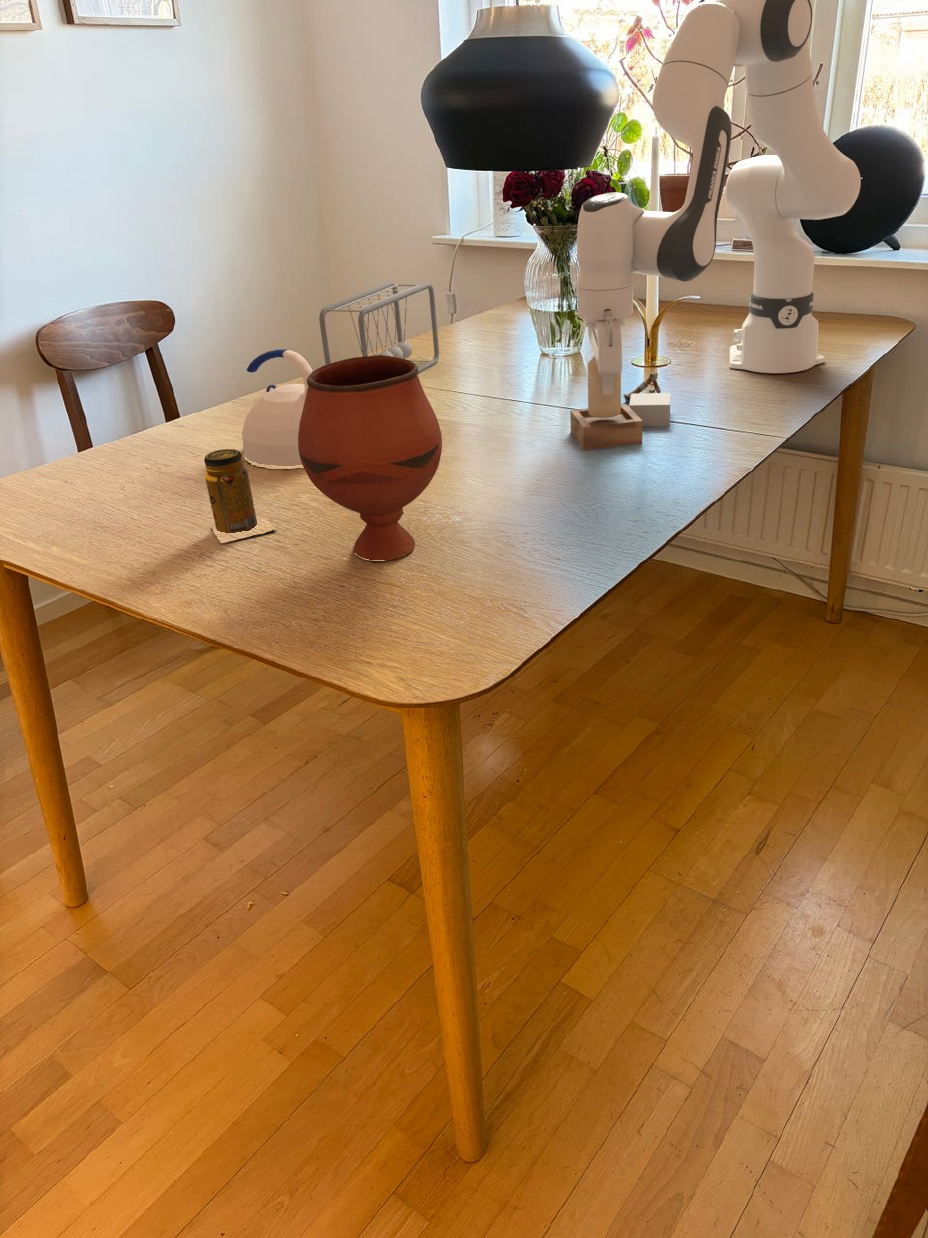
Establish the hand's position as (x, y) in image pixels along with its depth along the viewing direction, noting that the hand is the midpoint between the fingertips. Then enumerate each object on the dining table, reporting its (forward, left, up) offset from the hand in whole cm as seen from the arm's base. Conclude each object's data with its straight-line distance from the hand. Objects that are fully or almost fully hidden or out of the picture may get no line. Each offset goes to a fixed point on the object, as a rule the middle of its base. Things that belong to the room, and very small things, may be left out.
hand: (605, 388), depth 165 cm
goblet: (+41, -34, -9) cm, 54 cm away
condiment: (+32, -56, -9) cm, 65 cm away
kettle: (-3, -54, -9) cm, 55 cm away
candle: (0, 0, -4) cm, 5 cm away
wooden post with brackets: (-22, +9, -9) cm, 25 cm away
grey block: (-9, +9, -9) cm, 15 cm away
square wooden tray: (0, 0, -9) cm, 9 cm away
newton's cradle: (-48, -43, -9) cm, 65 cm away
